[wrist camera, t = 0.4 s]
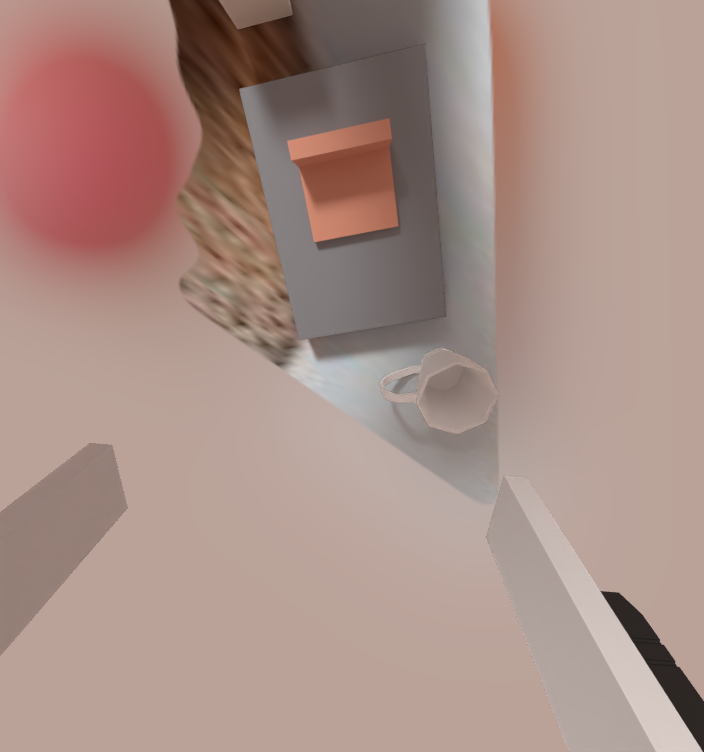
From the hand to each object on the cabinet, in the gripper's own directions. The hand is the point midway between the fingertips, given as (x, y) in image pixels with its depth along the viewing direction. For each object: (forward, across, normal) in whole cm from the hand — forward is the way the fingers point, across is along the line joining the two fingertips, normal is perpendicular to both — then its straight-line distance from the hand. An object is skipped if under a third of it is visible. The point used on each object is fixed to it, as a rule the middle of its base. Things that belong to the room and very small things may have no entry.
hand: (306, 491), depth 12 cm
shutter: (+23, 0, +11) cm, 26 cm away
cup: (+26, +9, -5) cm, 28 cm away
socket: (+26, 0, +9) cm, 28 cm away
